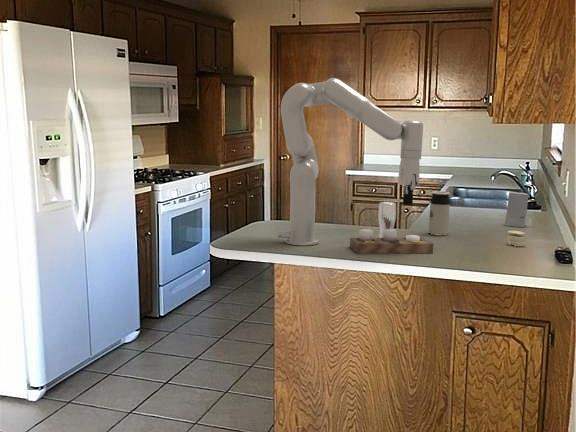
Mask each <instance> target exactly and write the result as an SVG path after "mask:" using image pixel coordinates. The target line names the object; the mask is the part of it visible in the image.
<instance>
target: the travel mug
mask: <svg viewBox="0 0 576 432" xmlns="http://www.w3.org/2000/svg"><path fill="white" fill-rule="evenodd" d="M431 195H432V196H431V199H430V203H429V204H430V205H429V219H428V220H429V221H428V234H429V233H432V234H439V235H445V236H448V235H447V234H449V224H450V223H449V220H450V203H451V201H450V198H449V196H450V192H448V191H435V190H434V191H431Z"/></svg>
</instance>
